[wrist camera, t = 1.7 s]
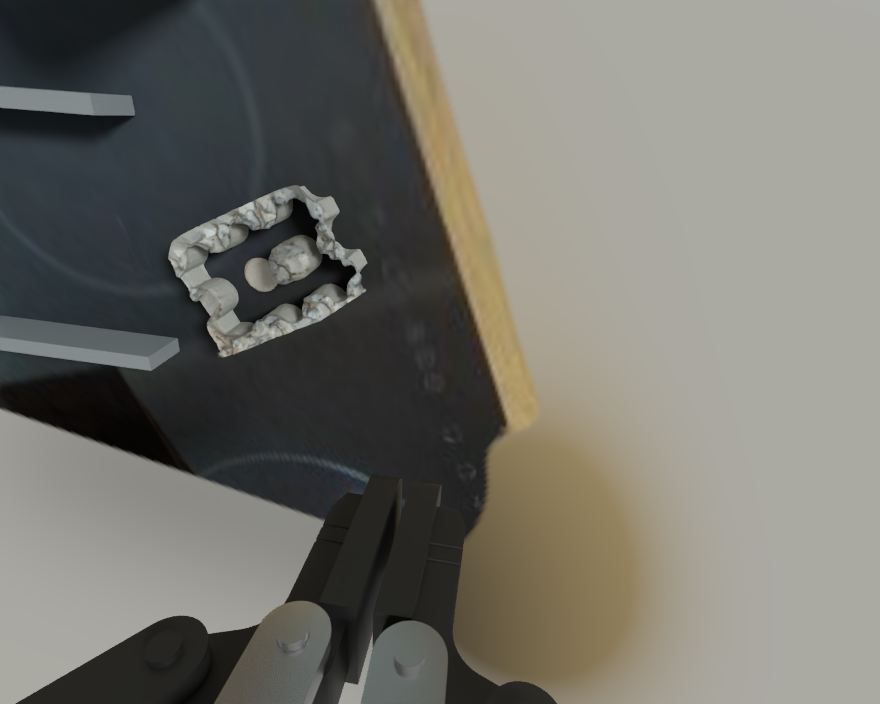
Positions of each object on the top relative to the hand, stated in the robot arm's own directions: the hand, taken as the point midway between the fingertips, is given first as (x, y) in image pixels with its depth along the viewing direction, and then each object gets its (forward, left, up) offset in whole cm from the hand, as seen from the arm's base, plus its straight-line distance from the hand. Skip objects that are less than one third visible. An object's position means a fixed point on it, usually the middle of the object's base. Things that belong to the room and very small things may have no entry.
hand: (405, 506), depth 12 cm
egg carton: (0, -12, -20) cm, 23 cm away
